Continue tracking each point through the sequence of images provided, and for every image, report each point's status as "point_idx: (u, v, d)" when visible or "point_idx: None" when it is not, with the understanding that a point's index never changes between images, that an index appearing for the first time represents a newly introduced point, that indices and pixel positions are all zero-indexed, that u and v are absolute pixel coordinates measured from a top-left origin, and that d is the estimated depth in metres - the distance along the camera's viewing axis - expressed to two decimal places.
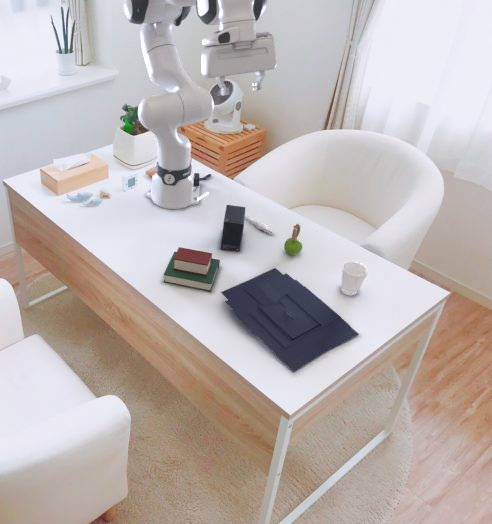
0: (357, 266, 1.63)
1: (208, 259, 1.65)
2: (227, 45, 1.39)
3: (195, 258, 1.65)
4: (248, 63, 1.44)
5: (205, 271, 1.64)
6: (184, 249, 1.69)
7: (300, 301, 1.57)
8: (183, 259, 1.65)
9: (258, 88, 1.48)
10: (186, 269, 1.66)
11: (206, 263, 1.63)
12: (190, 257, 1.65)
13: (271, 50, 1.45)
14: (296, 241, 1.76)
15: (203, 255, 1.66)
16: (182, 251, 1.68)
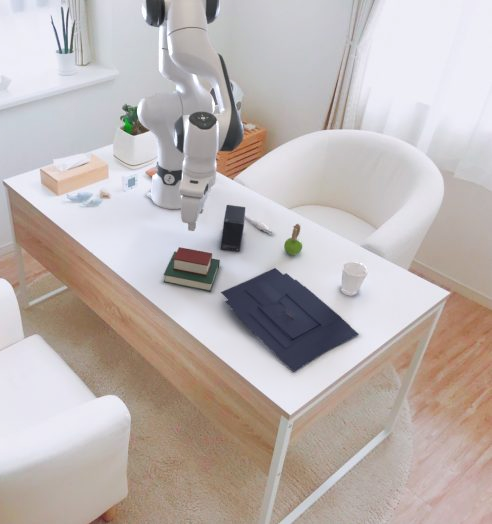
0: (357, 266, 1.63)
1: (208, 259, 1.65)
2: None
3: (195, 258, 1.65)
4: (205, 196, 1.56)
5: (205, 271, 1.64)
6: (184, 249, 1.69)
7: (300, 301, 1.57)
8: (183, 259, 1.65)
9: (202, 211, 1.62)
10: (186, 269, 1.66)
11: (206, 263, 1.63)
12: (190, 257, 1.65)
13: None
14: (296, 241, 1.76)
15: (203, 255, 1.66)
16: (182, 251, 1.68)
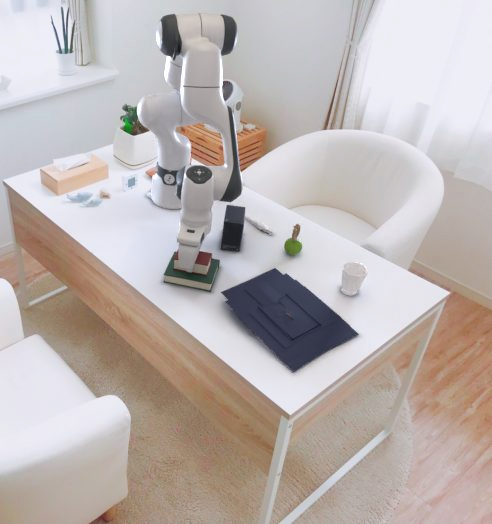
0: (357, 266, 1.63)
1: (208, 259, 1.65)
2: None
3: None
4: None
5: (205, 271, 1.64)
6: None
7: (300, 301, 1.57)
8: None
9: None
10: None
11: (206, 263, 1.63)
12: None
13: None
14: (296, 241, 1.76)
15: (203, 255, 1.66)
16: None
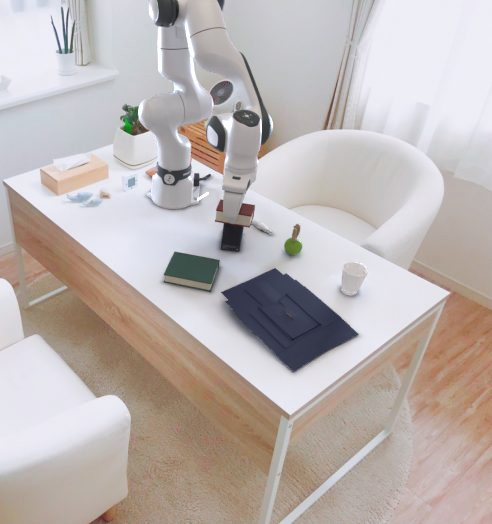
0: (357, 266, 1.63)
1: (251, 210, 1.60)
2: None
3: None
4: None
5: (248, 222, 1.60)
6: None
7: (300, 301, 1.57)
8: None
9: None
10: (228, 221, 1.61)
11: (250, 214, 1.58)
12: None
13: None
14: (296, 241, 1.76)
15: (246, 207, 1.62)
16: None
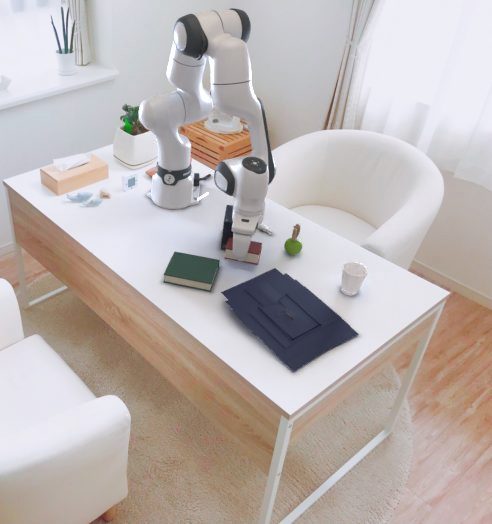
0: (357, 266, 1.63)
1: (259, 248, 1.69)
2: None
3: None
4: None
5: (256, 260, 1.69)
6: None
7: (300, 301, 1.57)
8: None
9: None
10: (237, 258, 1.71)
11: (258, 252, 1.68)
12: None
13: None
14: (296, 241, 1.76)
15: (254, 245, 1.71)
16: None
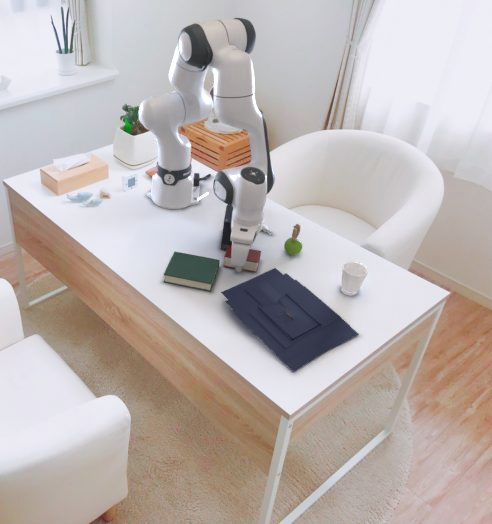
0: (357, 266, 1.63)
1: (258, 256, 1.71)
2: None
3: None
4: None
5: (255, 268, 1.71)
6: None
7: (300, 301, 1.57)
8: None
9: None
10: None
11: (256, 260, 1.69)
12: None
13: None
14: (296, 241, 1.76)
15: (252, 253, 1.73)
16: None
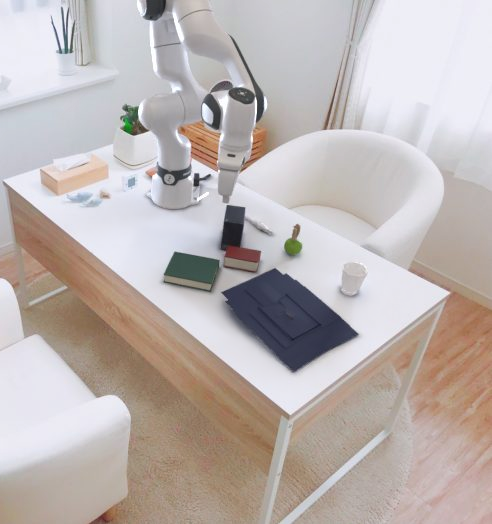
0: (357, 266, 1.63)
1: (258, 256, 1.71)
2: None
3: (245, 256, 1.71)
4: None
5: (255, 268, 1.71)
6: (233, 247, 1.75)
7: (300, 301, 1.57)
8: (234, 256, 1.71)
9: None
10: (236, 266, 1.72)
11: (256, 260, 1.69)
12: (240, 255, 1.72)
13: None
14: (296, 241, 1.76)
15: (252, 253, 1.73)
16: (232, 249, 1.74)
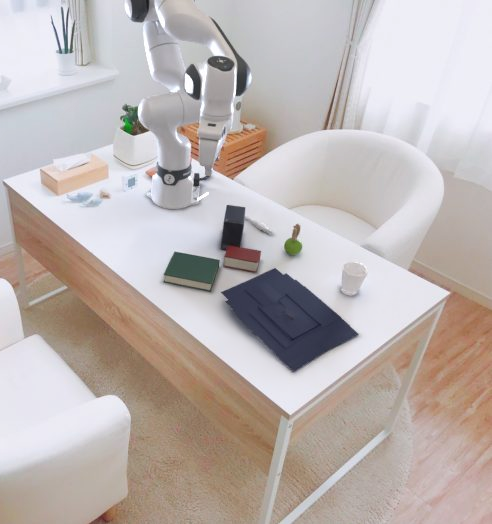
0: (357, 266, 1.63)
1: (258, 256, 1.71)
2: None
3: (245, 256, 1.71)
4: (221, 143, 1.59)
5: (255, 268, 1.71)
6: (233, 247, 1.75)
7: (300, 301, 1.57)
8: (234, 256, 1.71)
9: (218, 159, 1.66)
10: (236, 266, 1.72)
11: (256, 260, 1.69)
12: (240, 255, 1.72)
13: None
14: (296, 241, 1.76)
15: (252, 253, 1.73)
16: (232, 249, 1.74)
